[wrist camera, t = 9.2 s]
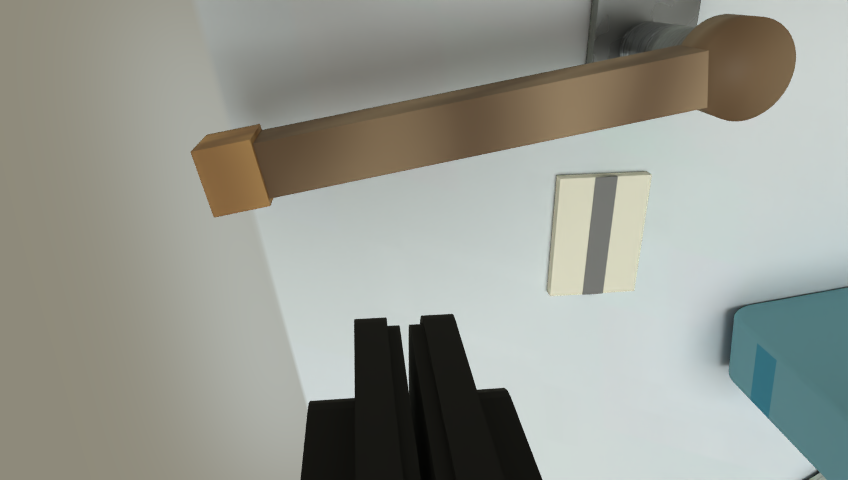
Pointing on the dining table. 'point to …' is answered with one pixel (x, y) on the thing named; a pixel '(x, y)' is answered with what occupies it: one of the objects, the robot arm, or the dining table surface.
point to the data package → (799, 372)
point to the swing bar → (503, 114)
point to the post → (638, 26)
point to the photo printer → (818, 477)
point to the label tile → (597, 232)
